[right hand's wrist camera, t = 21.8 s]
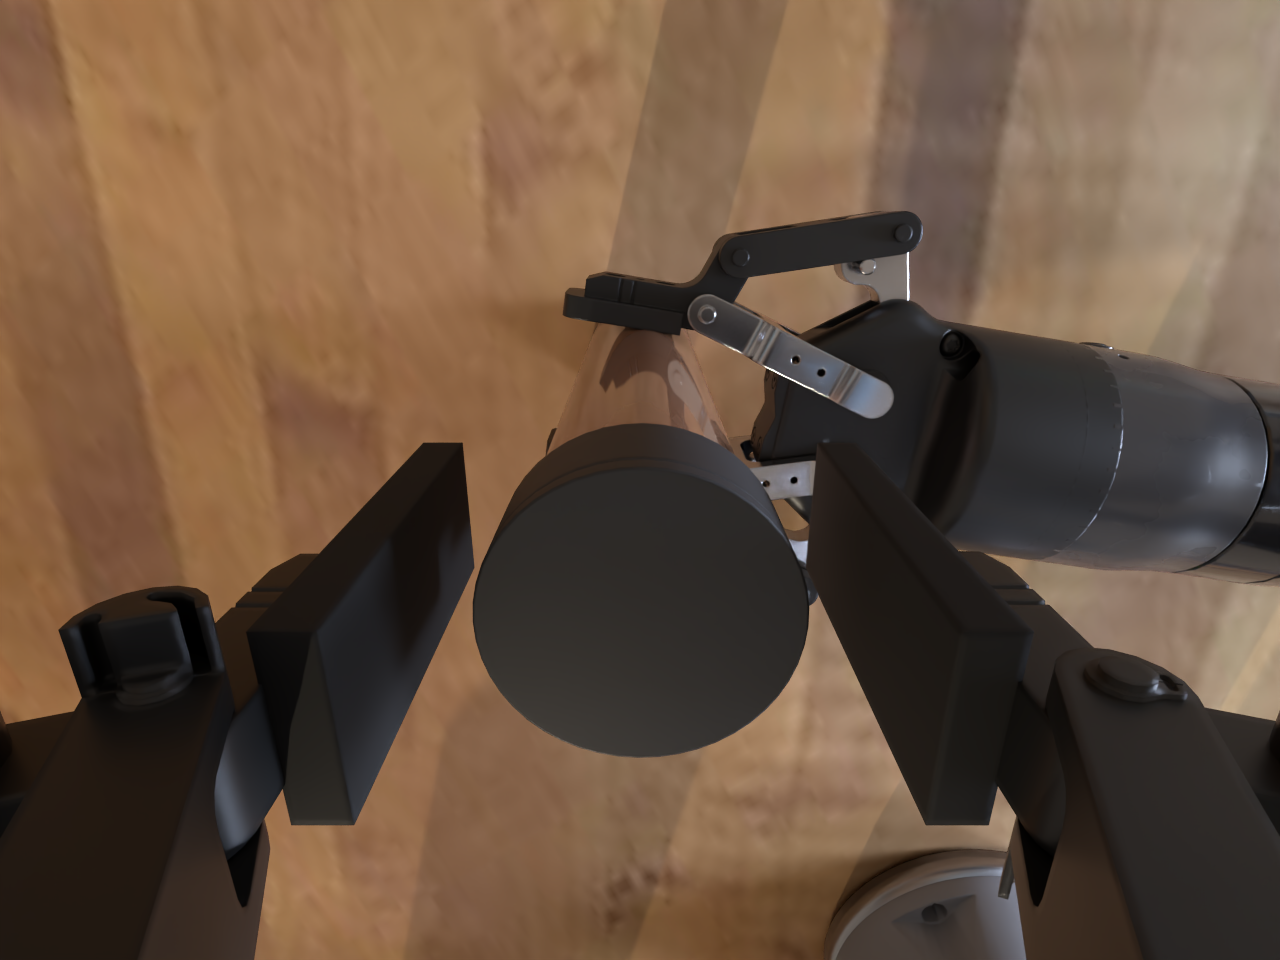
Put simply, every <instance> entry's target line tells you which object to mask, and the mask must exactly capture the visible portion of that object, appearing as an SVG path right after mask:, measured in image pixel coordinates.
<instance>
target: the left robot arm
mask: <svg viewBox="0 0 1280 960" xmlns="http://www.w3.org/2000/svg"><path fill="white" fill-rule="evenodd" d="M922 233H923V227H922V223H921V221H920V219H919V218H918V217H917V216H916V215H915V214H913V213H911V212H907V211H878V212H870V213H863V214H857V215H850V216H844V217H837V218H830V219H824V220H817V221H810V222H804V223H797V224H791V225H784V226H777V227H771V228H764V229H757V230H751V231H744V232H738V233H731V234H726V235H724V236H722V237H720V238H719V239H718V240H717V241H716V243H715V244H714V247H713V251H712V253H711V255H710V257H709V258H708V260H707V262H706V264H705V265H704V267H703V269H702V271H701V272H700V274H699V275H698V276H697V277H696V278H695V279H693V280H692V281H689V282H687V283H681V284H679V283H671V282H665V281H659V280H653V279H647V278H641V277H635V276H629V275H623V274H617V273H611V272H602V273H597V274H593V275H589V277H588V278H587V279H586V286H585V289H580V288H569V289H568V290H567V291H566V292H565V299H564V308H563V315H564V316H566V317H569V318H573V319H579V320H585V321H591V322H598V323H604V324H610V325H616V326H622V327H629V328H635V329H641V330H649V331H655V332H660V333H666V334H672V335H678V336H680V332H681V328H683V329H690V330H695V331H697V332H698V333H700V334H702V335H704V336H706V337H708V338H710V339H713V340H715V341H717V342H719V343H721V344H723V345H725V346H727V347H729V348H731V349H733V350H735V351H737V352H739V353H741V354H743V355H745V356H747V357H748V358H750V359H751V360H753V361H754V362H756V363H758V364H760V365H761V366H763V367H765V368H766V373H765V377H764V391H765V403H764V405H763V407H762V409H761V411H760V413H759V414H758V416H757V418H756V420H755V422H754V426H753V430H752V435H747V436H739V437H731V438H728V439H729V441H730V444H731V446H732V449H733V452H734V454H735V456H736V457H738V458H739V459H740V460H741V461H742V462H743V463H744V464H745V465H746V466H748V468H749V469H750V470H751V471H752V472H753V474H754V475H755V476H756V477H757V478H758V479H759V481H760V482H761V484H762V485H763V487H764V489H765V490H766V492H767V493H768V495H769V497H770V499H771V500H777V499H784V500H785V501H786V502H787V503H788V504H789V505H790V506H791V507H792V508H793V509H794V510H795V511H796V512H797V513H798V514H799V515H800V516H801V517H802V518H803V519H804V520H805V521H806V522H807V523H808V524H809V525H808V526H807V527H805V528H804V529H802V530H798V531H791V530H788V529H784V530H785V532H786V534H787V537H788V539H789V541H790V543H791V545H792V548H793V550H794V552H795V554H796V557H797V559H798V561H799V564H800V566H801V568H802V571H803V575H804V579H805V582H806V586H807V592H808V601H809V605H811V604H813V603H814V602H815V601H816V599H817V597H818V593H817V591H816V589H815V586H814V584H813V582H812V580H811V578H810V576H809V574H808V571H807V569H806V558H807V547H808V537H809V526H810V516H811V505H812V495H813V484H814V474H815V463H816V453H817V443H857V444H858V445H859V446H860V447H861V448H862V449H863V450H864V451H865V452H866V453H867V455H868V456H869V457H870V458H871V459H872V460H873V461H874V462H875V463H876V464H877V465H878V466H879V467H880V468H881V469H882V470H883V472H884V473H885V474H886V475H887V476H888V477H889V478H890V479H891V480H892V481H893V482H894V483H895V484H896V485H897V486H898V487H899V489H900V490H901V491H902V492H903V493H904V494H905V495H906V496H907V497H908V498H909V499H910V500H911V501H912V502H913V503H914V505H915V506H916V507H917V508H918V509H919V510H920V511H921V512H922V513H923V514H924V515H925V516H926V517H927V518H928V519H929V520H930V522H931V523H932V524H933V525H934V526H935V527H936V528H937V529H938V530H939V531H940V532H941V533H942V534H943V535H944V536H945V537H946V539H947V540H948V541H949V542H950V543H951V544H952V545H953V546H954V547H955V548H956V549H959V550H966V551H980V552H982V553H986V554H993V555H1000V556H1006V557H1013V558H1020V559H1027V560H1034V561H1041V562H1048V563H1055V564H1062V565H1069V566H1076V567H1083V568H1090V569H1099V570H1115V571H1135V570H1139V571H1158V572H1167V573H1174V574H1181V575H1188V576H1194V577H1201V578H1208V579H1215V580H1222V581H1228V582H1234V583H1241V584H1248V585H1257V586H1271V587H1280V384H1274V383H1268V382H1262V381H1256V380H1250V379H1244V378H1238V377H1232V376H1226V375H1220V374H1213V373H1208V372H1204V371H1199V370H1196V369H1193V368H1190V367H1187V366H1184V365H1181V364H1178V363H1175V362H1172V361H1169V360H1165V359H1162V358H1158V357H1154V356H1150V355H1145V354H1140V353H1133V352H1127V351H1122V350H1116V349H1114V348H1112V347H1109V346H1106V345H1104V344H1100V343H1089V342H1083V343H1074V342H1068V341H1062V340H1056V339H1050V338H1043V337H1037V336H1031V335H1025V334H1019V333H1013V332H1007V331H1001V330H995V329H989V328H983V327H977V326H971V325H965V324H959V323H953V322H947V321H942V320H937V319H936V318H934V317H932V316H931V315H930V314H928V313H927V312H926V311H925V310H924V309H923V308H922V307H921V306H920V305H918V304H917V303H915V302H913V301H910V300H909V252H910V251H912V250H913V249H915V248H916V246H917V245H918V244H919V242H920V240H921V238H922ZM828 265H834V270H835V272H836V274H837V276H838V277H839V278H840V279H841V280H843V281H846V282H849V283H852V284H855V285H864V286H865V287H866V288H867V289H868V291H869V293H870V296H871V300H869V301H867V302H865V303H863V304H861V305H859V306H857V307H855V308H853V309H851V310H849V311H847V312H845V313H843V314H841V315H839V316H837V317H835V318H833V319H830V320H828V321H826V322H824V323H822V324H820V325H818V326H816V327H814V328H812V329H810V330H808V331H806V332H804V333H802V334H800V333H798V332H796V331H795V330H793V329H791V328H789V327H787V326H785V325H783V324H781V323H779V322H777V321H775V320H773V319H771V318H769V317H767V316H765V315H763V314H761V313H759V312H756V311H754V310H751V309H749V308H747V307H745V306H743V305H741V304H739V303H737V302H735V299H736V298H737V296H738V294H739V292H740V291H741V289H742V287H743V286H744V284H745V282H746V281H747V279H748V277H753V276H760V275H767V274H774V273H781V272H787V271H794V270H801V269H808V268H814V267H821V266H828ZM556 429H557V428H554V429H552V431H551V433H550V435H549V438H548V440H547V448H546V455H547V452H548V450H549V447H550V445H551V442H552V440H553V437H554V434H555V432H556ZM751 452H753V453H752V454H750V453H751ZM765 480H766V481H765ZM764 481H765V482H764Z"/></svg>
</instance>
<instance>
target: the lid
mask: <svg viewBox="0 0 1280 960" xmlns="http://www.w3.org/2000/svg"><path fill="white" fill-rule="evenodd" d="M808 623H809V601H808V592H807V586H806V582H805V579H804V575H803V571H802V568H801V566H800V564H799V561H798V559H797V557H796V554H795V552H794V550H793V548H792V545H791V543H790V541H789V539H788V537H787V534H786V532H785V530H784V528H783V526H782V523H781V521H780V519H779V517H778V515H777V512H776V510H775V508H774V506H773V504H772V501H771V499H770V497H769V495H768V493H767V492H766V490H765V489H764V487H763V485H762V484H761V482H760V481H759V479H758V478H757V477H756V476H755V475H754V474H753V472H752V471H751V470H750V469H749V468H748V466H746V465H745V464H744V463H743V462H742V461H741V460H740V459H739V458H738V457H736V456H735V455H734V454H733V453H731V452H730V451H728V450H727V449H725V448H724V447H722V446H721V445H720V444H718V443H716V442H714V441H712V440H710V439H708V438H706V437H704V436H702V435H699V434H697V433H694V432H691V431H688V430H685V429H682V428H677V427H672V426H667V425H662V424H649V423H634V424H620V425H615V426H609V427H604V428H600V429H597V430H594V431H591V432H587V433H585V434H582V435H580V436H578V437H576V438H574V439H571V440H569V441H567V442H566V443H564V444H562V445H561V446H559V447H558V448H556V449H554V450H553V451H551V452H550V453H549V454H548V455H547V456H545V457H544V458H543V459H542V460H541V461H539V462H538V463H537V464H536V465H535V466H534V467H533V469H532V470H531V471H530V472H529V473H528V474H527V475H526V476H525V477H524V479H523V480H522V482H521V483H520V485H519V486H518V488H517V489H516V491H515V492H514V495H513V497H512V499H511V501H510V503H509V505H508V507H507V509H506V511H505V514H504V516H503V518H502V520H501V522H500V525H499V527H498V529H497V531H496V533H495V536H494V538H493V540H492V542H491V545H490V547H489V549H488V551H487V554H486V556H485V558H484V560H483V562H482V565H481V568H480V571H479V574H478V577H477V581H476V584H475V591H474V598H473V625H474V632H475V638H476V642H477V646H478V649H479V652H480V655H481V658H482V661H483V663H484V665H485V667H486V669H487V671H488V673H489V675H490V677H491V679H492V680H493V682H494V683H495V685H496V686H497V688H498V689H499V691H500V692H501V693H502V695H503V696H504V697H505V698H506V699H507V700H508V702H509V703H510V704H511V705H512V706H513V707H514V708H515V709H516V710H517V711H518V712H519V713H521V714H522V715H523V716H524V717H525V718H526V719H527V720H529V721H530V722H532V723H533V724H534V725H536V726H537V727H539V728H540V729H542V730H543V731H545V732H547V733H548V734H550V735H552V736H554V737H556V738H558V739H560V740H562V741H564V742H567V743H569V744H572V745H574V746H577V747H579V748H583V749H586V750H590V751H593V752H597V753H602V754H607V755H613V756H621V757H636V758H642V757H661V756H668V755H675V754H680V753H684V752H688V751H692V750H696V749H699V748H702V747H705V746H707V745H710V744H713V743H716V742H718V741H720V740H722V739H724V738H726V737H728V736H730V735H732V734H734V733H735V732H737V731H738V730H740V729H741V728H743V727H744V726H746V725H747V724H749V723H750V722H752V721H753V720H754V719H755V718H756V717H758V716H759V715H760V714H761V713H762V712H764V711H765V710H766V709H767V708H768V707H769V706H770V704H771V703H772V702H773V701H774V700H775V699H776V698H777V697H778V696H779V694H780V693H781V692H782V690H783V689H784V687H785V686H786V684H787V683H788V682H789V680H790V678H791V676H792V674H793V672H794V671H795V669H796V667H797V665H798V662H799V660H800V657H801V654H802V651H803V648H804V646H805V641H806V636H807V631H808Z"/></svg>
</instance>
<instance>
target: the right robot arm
mask: <svg viewBox="0 0 1280 960" xmlns="http://www.w3.org/2000/svg"><path fill="white" fill-rule="evenodd" d="M473 569H474V558H473V547H472V537H471V526H470V516H469V505H468V495H467V484H466V474H465V463H464V453H463V443H423V444H422V445H421V446H420V447H419V448H418V449H417V450H416V451H415V452H414V453H413V455H412V456H411V457H410V458H409V459H408V460H407V461H406V462H405V463H404V464H403V465H402V466H401V467H400V468H399V469H398V470H397V472H396V473H395V474H394V475H393V476H392V477H391V478H390V479H389V480H388V481H387V482H386V483H385V484H384V485H383V486H382V487H381V489H380V490H379V491H378V492H377V493H376V494H375V495H374V496H373V497H372V498H371V499H370V500H369V501H368V502H367V503H366V505H365V506H364V507H363V508H362V509H361V510H360V511H359V512H358V513H357V514H356V515H355V516H354V517H353V518H352V519H351V520H350V522H349V523H348V524H347V525H346V526H345V527H344V528H343V529H342V530H341V531H340V532H339V533H338V534H337V535H336V536H335V537H334V539H333V540H332V541H331V542H330V543H329V544H328V545H327V546H326V547H325V548H324V549H323V550H322V551H321V552H320V553H319V554H299V555H297V556H295V557H293V558H292V559H290V560H288V561H286V562H284V563H282V564H280V565H279V566H277V567H275V568H273V569H271V570H270V571H269V572H268V573H267V574H266V575H265V576H264V577H263V578H262V579H261V580H260V581H259V582H258V583H256V584H255V585H254V586H253V587H252V591H251V592H247V593H246V594H245V595H244V596H243V597H242V598H241V599H240V600H239V601H238V602H237V603H236V607H235V608H231V609H230V610H229V611H228V612H226V613H225V614H224V615H223V616H222V617H221V618H220V619H219V620H218V621H217V622H216V623H215V622H214V618H213V614H212V610H211V606H210V602H209V598H208V595H206V594H205V593H203V592H202V591H200V590H199V589H197V588H190V587H183V586H168V587H154V588H148V589H144V590H139V591H135V592H130V593H126V594H122V595H120V596H117V597H114V598H111V599H109V600H106V601H103V602H100V603H97V604H95V605H94V606H92V607H90V608H88V609H86V610H84V611H83V612H81V613H79V614H77V615H75V616H73V617H72V618H71V619H70V620H69V621H68V622H67V623H66V624H65V625H63V626H62V627H61V628H60V629H59V633H60V636H61V639H62V642H63V645H64V647H65V650H66V653H67V656H68V659H69V662H70V665H71V668H72V671H73V673H74V676H75V679H76V682H77V685H78V688H79V691H80V694H81V697H82V699H81V700H80V702H79V704H78V706H77V707H76V709H75V711H73V712H68V713H63V714H57V715H52V716H47V717H42V718H36V719H31V720H26V721H21V722H15V723H10V724H5V722H4V719H3V717H2V714H1V712H0V960H254V956H255V949H256V943H257V936H258V929H259V922H260V916H261V909H262V902H263V895H264V888H265V882H266V875H267V868H268V861H269V855H270V844H269V836H268V832H267V828H266V824H265V820H264V818H265V816H266V815H267V813H268V811H269V810H270V808H271V807H272V805H273V803H274V802H275V800H276V799H277V797H278V795H279V794H280V792H281V790H282V789H283V792H284V796H285V800H286V805H287V809H288V813H289V817H290V822H291V825H354V824H355V822H356V820H357V818H358V816H359V814H360V811H361V809H362V807H363V805H364V803H365V801H366V799H367V796H368V794H369V792H370V790H371V788H372V786H373V784H374V781H375V779H376V777H377V775H378V773H379V771H380V769H381V766H382V764H383V762H384V760H385V758H386V756H387V754H388V751H389V749H390V747H391V745H392V743H393V741H394V739H395V736H396V734H397V732H398V730H399V728H400V726H401V724H402V721H403V719H404V717H405V715H406V713H407V711H408V709H409V706H410V704H411V702H412V700H413V698H414V696H415V694H416V691H417V689H418V687H419V685H420V683H421V681H422V679H423V676H424V674H425V672H426V670H427V668H428V666H429V664H430V661H431V659H432V657H433V655H434V653H435V651H436V649H437V646H438V644H439V642H440V640H441V638H442V636H443V634H444V631H445V629H446V627H447V625H448V623H449V621H450V619H451V616H452V614H453V612H454V610H455V608H456V606H457V604H458V601H459V599H460V597H461V595H462V593H463V591H464V589H465V586H466V584H467V582H468V580H469V578H470V576H471V574H472V571H473ZM806 569H807V571H808V574H809V576H810V578H811V580H812V582H813V584H814V586H815V589H816V591H817V593H818V595H819V597H820V599H821V601H822V604H823V606H824V608H825V610H826V612H827V614H828V616H829V619H830V621H831V623H832V625H833V627H834V629H835V631H836V634H837V636H838V638H839V640H840V642H841V644H842V646H843V649H844V651H845V653H846V655H847V657H848V659H849V661H850V664H851V666H852V668H853V670H854V672H855V674H856V676H857V679H858V681H859V683H860V685H861V687H862V689H863V691H864V694H865V696H866V698H867V700H868V702H869V704H870V706H871V709H872V711H873V713H874V715H875V717H876V719H877V721H878V724H879V726H880V728H881V730H882V732H883V734H884V736H885V739H886V741H887V743H888V745H889V747H890V749H891V751H892V754H893V756H894V758H895V760H896V762H897V764H898V766H899V769H900V771H901V773H902V775H903V777H904V779H905V781H906V784H907V786H908V788H909V790H910V792H911V794H912V796H913V799H914V801H915V803H916V805H917V807H918V809H919V811H920V814H921V816H922V818H923V820H924V822H925V824H926V825H989V822H990V817H991V813H992V809H993V805H994V800H995V796H996V792H997V788H998V787H999V788H1000V790H1001V792H1002V793H1003V795H1004V796H1005V798H1006V800H1007V801H1008V803H1009V804H1010V806H1011V808H1012V809H1013V811H1014V812H1015V814H1016V820H1015V824H1014V828H1013V832H1012V836H1011V840H1010V844H1009V848H1008V851H1007V852H1001V851H993V850H956V851H948V852H942V853H936V854H932V855H927V856H923V857H920V858H917V859H914V860H911V861H908V862H905V863H903V864H900V865H898V866H896V867H894V868H891V869H889V870H887V871H885V872H884V873H882V874H880V875H878V876H877V877H875V878H874V879H872V880H871V881H869V882H868V883H866V884H865V885H864V886H862V887H861V888H860V889H859V890H857V891H856V892H855V893H854V894H853V895H852V896H851V897H850V898H849V899H848V900H847V901H846V902H845V903H844V905H843V906H842V907H841V908H840V910H839V911H838V913H837V914H836V916H835V917H834V919H833V921H832V923H831V925H830V927H829V930H828V932H827V935H826V939H825V944H824V960H1280V712H1279V714H1278V717H1277V719H1276V721H1272V720H1267V719H1262V718H1256V717H1251V716H1246V715H1241V714H1235V713H1230V712H1225V711H1219V710H1214V709H1209V708H1204V706H1203V704H1202V702H1201V701H1200V699H1199V697H1198V696H1197V695H1196V694H1195V693H1194V692H1193V691H1192V689H1191V688H1190V687H1189V686H1188V685H1187V684H1186V683H1185V682H1184V681H1183V680H1181V679H1179V678H1178V677H1176V676H1175V675H1173V674H1172V673H1170V672H1169V671H1167V670H1166V669H1164V668H1162V667H1160V666H1158V665H1155V664H1153V663H1151V662H1148V661H1146V660H1144V659H1141V658H1139V657H1137V656H1133V655H1129V654H1125V653H1121V652H1117V651H1114V650H1110V649H1098V648H1093V647H1092V646H1091V645H1090V644H1089V643H1088V642H1087V641H1086V640H1085V639H1084V638H1083V637H1082V636H1081V635H1080V634H1079V633H1078V632H1077V631H1076V630H1075V629H1074V628H1073V627H1072V626H1071V625H1069V624H1068V623H1067V622H1066V621H1065V620H1064V619H1063V618H1062V617H1061V616H1060V615H1059V614H1058V613H1057V612H1056V611H1055V610H1054V609H1053V608H1052V607H1051V606H1050V605H1045V601H1044V600H1043V599H1042V598H1041V597H1040V596H1039V595H1038V594H1037V593H1036V592H1035V591H1034V590H1033V589H1029V585H1028V584H1027V583H1026V582H1025V581H1024V580H1023V579H1022V578H1020V577H1019V576H1018V575H1017V574H1016V573H1015V572H1014V571H1013V570H1012V569H1011V568H1010V567H1008V566H1007V565H1005V564H1003V563H1001V562H999V561H997V560H995V559H993V558H992V557H990V556H988V555H986V554H984V553H982V552H980V551H958V550H957V549H956V548H955V547H954V546H953V545H952V544H951V543H950V542H949V541H948V540H947V539H946V537H945V536H944V535H943V534H942V533H941V532H940V531H939V530H938V529H937V528H936V527H935V526H934V525H933V524H932V523H931V522H930V520H929V519H928V518H927V517H926V516H925V515H924V514H923V513H922V512H921V511H920V510H919V509H918V508H917V507H916V506H915V505H914V503H913V502H912V501H911V500H910V499H909V498H908V497H907V496H906V495H905V494H904V493H903V492H902V491H901V490H900V489H899V487H898V486H897V485H896V484H895V483H894V482H893V481H892V480H891V479H890V478H889V477H888V476H887V475H886V474H885V473H884V472H883V470H882V469H881V468H880V467H879V466H878V465H877V464H876V463H875V462H874V461H873V460H872V459H871V458H870V457H869V456H868V455H867V453H866V452H865V451H864V450H863V449H862V448H861V447H860V446H859V445H858V444H857V443H817V453H816V463H815V474H814V484H813V495H812V505H811V516H810V526H809V537H808V547H807V558H806Z"/></svg>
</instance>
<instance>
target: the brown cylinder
mask: <svg viewBox="0 0 1280 960" xmlns="http://www.w3.org/2000/svg"><path fill="white" fill-rule="evenodd" d="M634 423H649V424H662V425H667V426H672V427H677V428H682V429H685V430H688V431H691V432H694V433H697V434H699V435H702V436H704V437H706V438H708V439H710V440H712V441H714V442H716V443H718V444H720V445H721V446H722V447H724V448H725V449H727V450H728V451H730V452H731V453H733V454H734V452H733V449H732V446H731V444H730V441H729V439H728V436H727V434H726V431H725V429H724V426H723V423H722V421H721V418H720V416H719V413H718V411H717V408H716V405H715V403H714V400H713V398H712V395H711V393H710V390H709V388H708V385H707V382H706V380H705V377H704V375H703V372H702V370H701V367H700V364H699V362H698V359H697V357H696V354H695V352H694V349H693V346H692V344H691V341H690V339H689V336H688V334H687V331H686V329H683V328H681V332H680V336H678V335H672V334H666V333H660V332H655V331H649V330H641V329H635V328H629V327H622V326H616V325H610V324H604V323H599V324H598V326H597V327H596V329H595V331H594V334H593V336H592V339H591V341H590V344H589V346H588V349H587V352H586V354H585V357H584V359H583V362H582V365H581V367H580V370H579V372H578V375H577V377H576V380H575V383H574V385H573V388H572V390H571V393H570V396H569V398H568V401H567V403H566V406H565V409H564V411H563V414H562V416H561V419H560V421H559V424H558V427H557V429H556V432H555V434H554V437H553V440H552V442H551V445H550V447H549V450H548V452H547V455H548V454H549V453H550V452H551V451H553V450H554V449H556V448H558V447H559V446H561V445H562V444H564V443H566V442H567V441H569V440H571V439H574V438H576V437H578V436H580V435H582V434H585V433H587V432H591V431H594V430H597V429H600V428H604V427H609V426H615V425H620V424H634ZM547 455H546V456H547ZM734 455H735V454H734Z"/></svg>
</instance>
